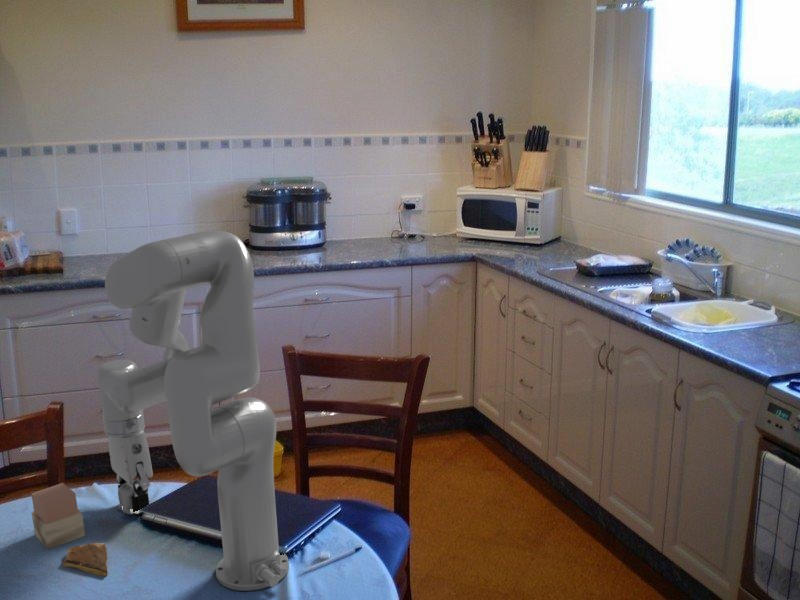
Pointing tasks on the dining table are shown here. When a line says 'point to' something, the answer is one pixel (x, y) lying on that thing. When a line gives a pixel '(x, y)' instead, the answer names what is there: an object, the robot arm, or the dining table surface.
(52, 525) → the tower base
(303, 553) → the dining table surface
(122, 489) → the die
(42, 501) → the tower top
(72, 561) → the shard
